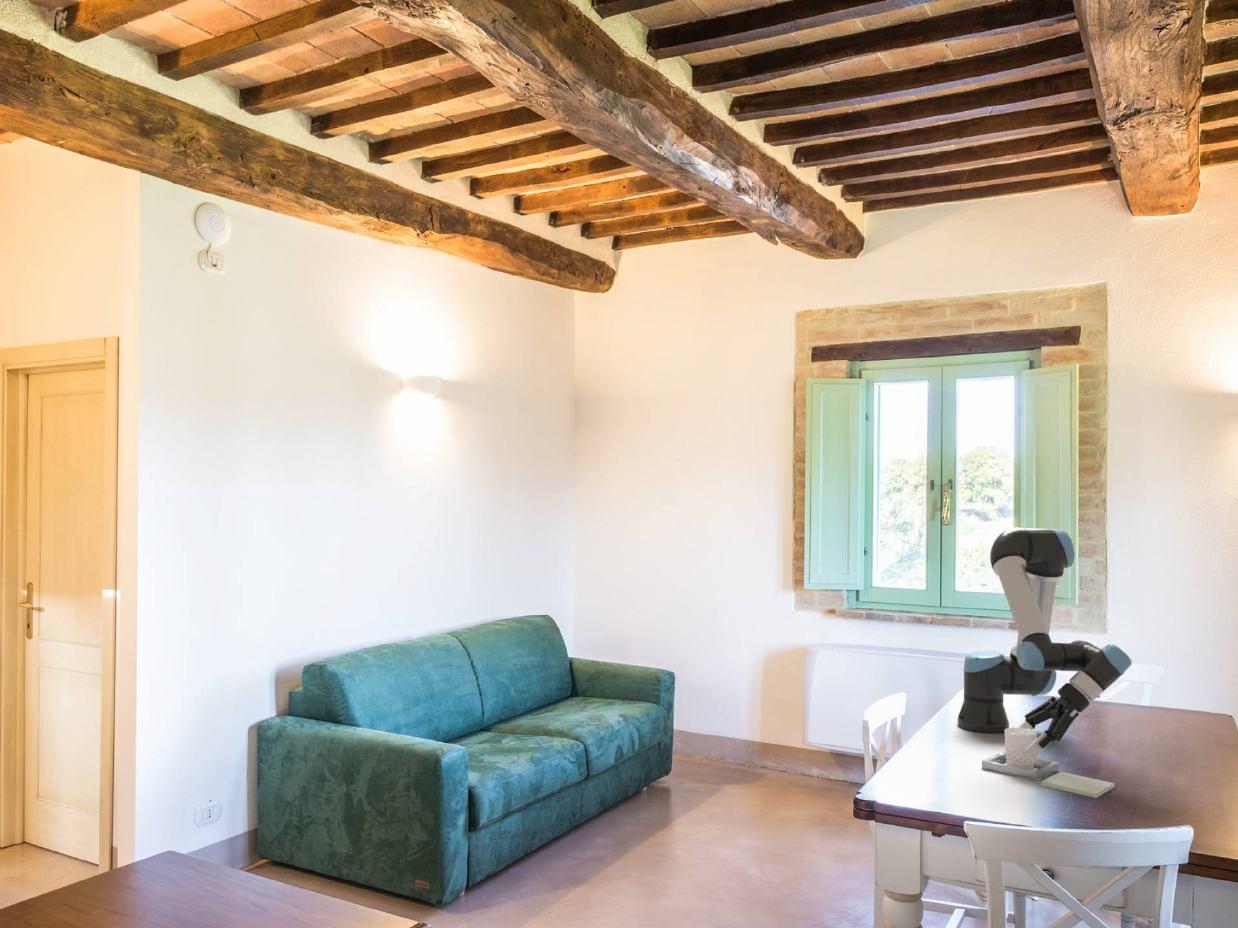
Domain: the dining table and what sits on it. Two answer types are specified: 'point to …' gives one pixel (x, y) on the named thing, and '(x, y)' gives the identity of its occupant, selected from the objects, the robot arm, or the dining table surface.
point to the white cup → (1019, 747)
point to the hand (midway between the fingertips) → (1020, 747)
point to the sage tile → (1078, 784)
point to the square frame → (1038, 774)
